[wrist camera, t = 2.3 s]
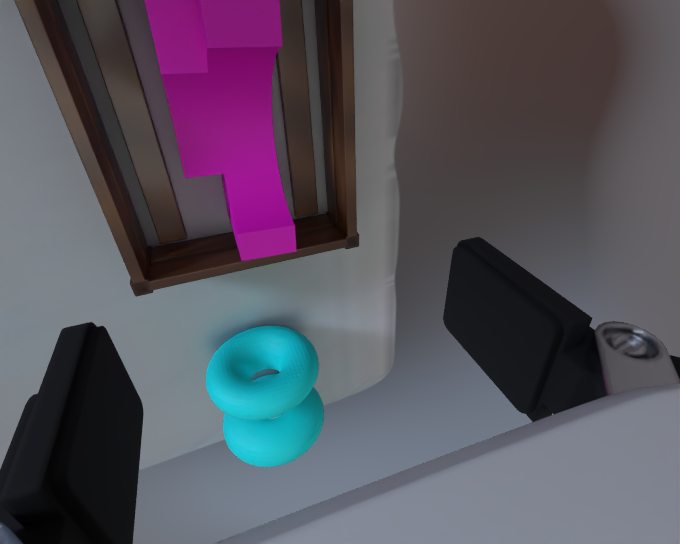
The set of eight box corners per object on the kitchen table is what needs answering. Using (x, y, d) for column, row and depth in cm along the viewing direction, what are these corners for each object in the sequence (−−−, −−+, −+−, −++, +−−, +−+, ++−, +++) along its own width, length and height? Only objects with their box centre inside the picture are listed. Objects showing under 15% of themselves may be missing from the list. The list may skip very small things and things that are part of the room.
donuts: (221, 402, 43) (233, 489, 35) (198, 335, 37) (206, 421, 29) (309, 375, 45) (338, 451, 38) (300, 309, 40) (332, 381, 32)
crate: (10, -66, 20) (-28, -85, 16) (325, -66, 24) (355, -81, 21) (139, 261, 31) (135, 297, 27) (338, 221, 36) (359, 246, 32)
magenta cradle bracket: (144, -13, 23) (136, -22, 17) (252, -11, 25) (278, -18, 19) (196, 219, 31) (202, 268, 25) (273, 208, 33) (296, 251, 27)
